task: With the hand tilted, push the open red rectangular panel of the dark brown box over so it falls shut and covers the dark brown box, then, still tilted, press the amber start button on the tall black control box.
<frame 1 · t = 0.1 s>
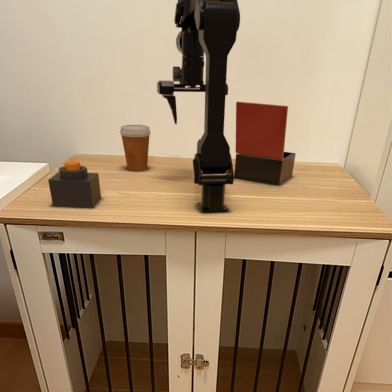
hand: (191, 124, 116), 15 cm above the cabinet, tool pointing down, fingers open, 9 cm apart
start button: (72, 166, 98), point 8 cm above the cabinet, slide at 0.1 cm
dark brown box: (263, 177, 128), on the cabinet
control box: (77, 202, 103), on the cabinet
red rectangular panel: (260, 131, 114), point 14 cm above the cabinet, hinge at 100.0°
disposable coffee cup: (137, 169, 132), on the cabinet
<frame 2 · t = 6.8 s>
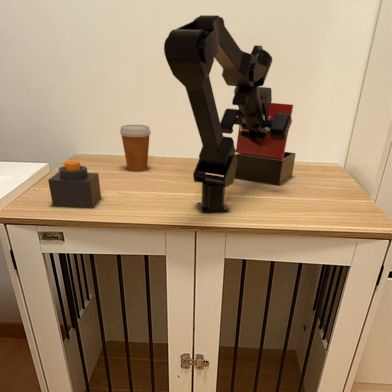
hand: (260, 144, 117), 10 cm above the cabinet, tool tilted 45°, fingers closed, pressing on red rectangular panel
red rectangular panel: (263, 129, 116), point 14 cm above the cabinet, hinge at 80.0°, touching gripper
everything else where it was.
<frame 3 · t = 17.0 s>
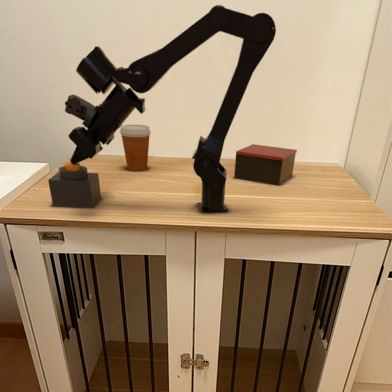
hand: (72, 162, 98), 9 cm above the cabinet, tool tilted 45°, fingers closed, pressing on start button
start button: (72, 168, 99), point 8 cm above the cabinet, slide at -0.3 cm, touching gripper
red rectangular panel: (266, 151, 124), point 7 cm above the cabinet, hinge at -0.2°
everything else where it was.
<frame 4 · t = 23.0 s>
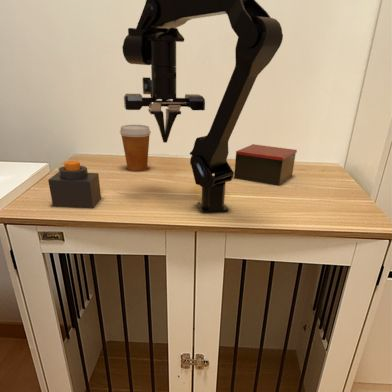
hand: (165, 142, 102), 13 cm above the cabinet, tool pointing down, fingers closed
start button: (72, 166, 98), point 8 cm above the cabinet, slide at 0.1 cm
everything else where it was.
at the end: red rectangular panel at +0° (first picture: +100°); start button pushed in 1.3 cm at the most during the clip, back to where it started at the end; start button slide at 0.1 cm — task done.
